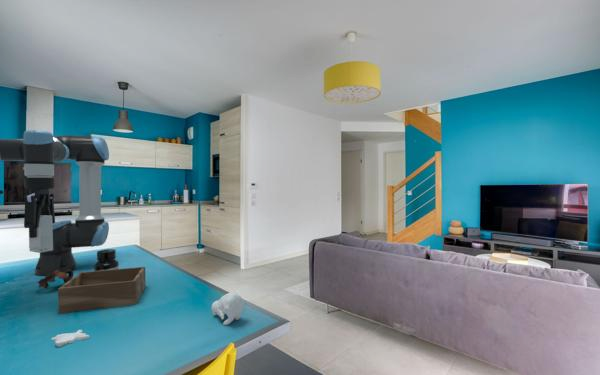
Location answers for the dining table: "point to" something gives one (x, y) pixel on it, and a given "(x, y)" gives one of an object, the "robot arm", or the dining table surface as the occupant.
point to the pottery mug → (51, 277)
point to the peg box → (101, 289)
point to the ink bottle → (106, 260)
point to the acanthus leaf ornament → (69, 338)
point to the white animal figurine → (228, 307)
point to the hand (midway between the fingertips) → (41, 244)
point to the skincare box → (45, 234)
